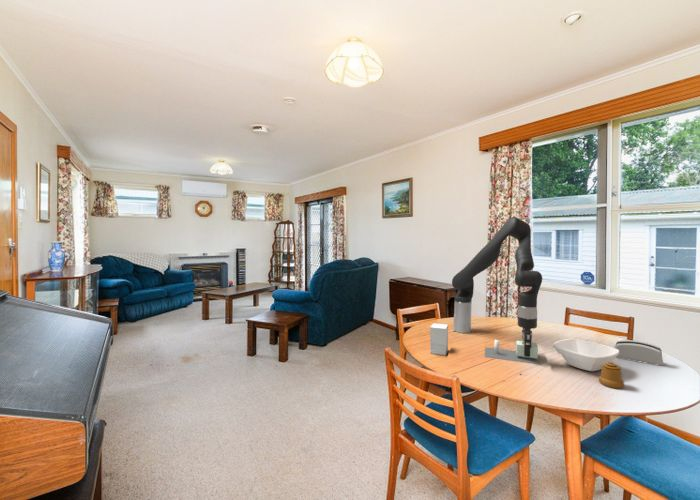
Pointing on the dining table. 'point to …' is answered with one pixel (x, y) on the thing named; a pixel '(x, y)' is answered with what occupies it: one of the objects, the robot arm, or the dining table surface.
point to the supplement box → (439, 339)
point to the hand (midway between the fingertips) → (526, 353)
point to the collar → (521, 349)
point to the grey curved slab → (639, 351)
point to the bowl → (585, 353)
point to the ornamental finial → (611, 376)
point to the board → (508, 355)
